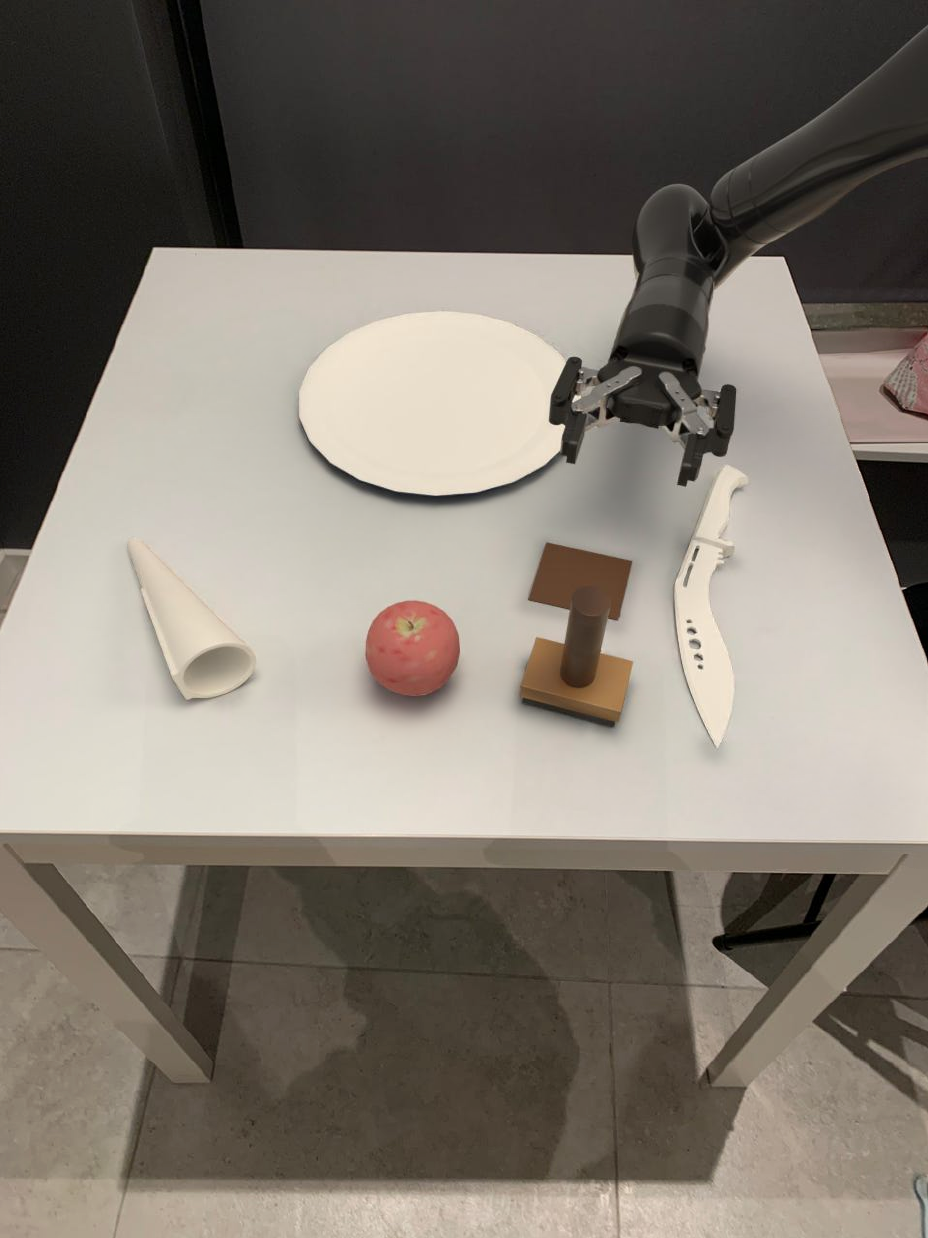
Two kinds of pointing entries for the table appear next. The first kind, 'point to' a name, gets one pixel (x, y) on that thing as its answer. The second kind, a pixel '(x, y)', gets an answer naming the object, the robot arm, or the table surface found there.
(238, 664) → the long cone
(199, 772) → the table surface
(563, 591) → the brown flat block
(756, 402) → the table surface
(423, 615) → the apple
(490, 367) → the plate
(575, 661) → the wooden handled stamp
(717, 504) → the knife
